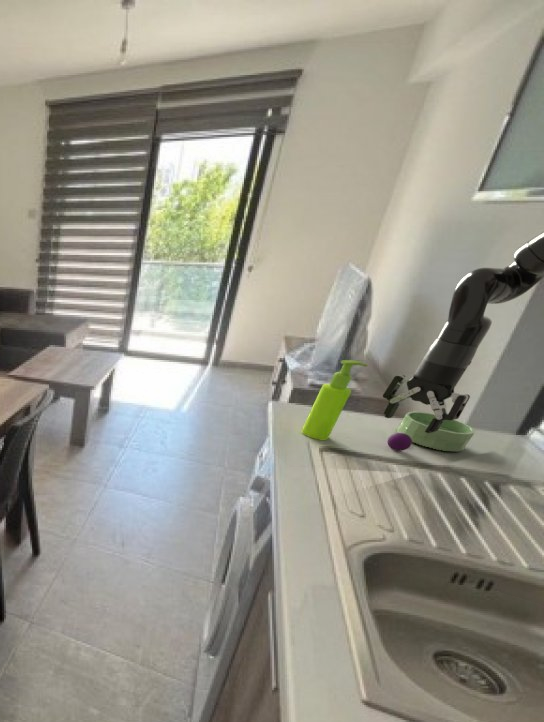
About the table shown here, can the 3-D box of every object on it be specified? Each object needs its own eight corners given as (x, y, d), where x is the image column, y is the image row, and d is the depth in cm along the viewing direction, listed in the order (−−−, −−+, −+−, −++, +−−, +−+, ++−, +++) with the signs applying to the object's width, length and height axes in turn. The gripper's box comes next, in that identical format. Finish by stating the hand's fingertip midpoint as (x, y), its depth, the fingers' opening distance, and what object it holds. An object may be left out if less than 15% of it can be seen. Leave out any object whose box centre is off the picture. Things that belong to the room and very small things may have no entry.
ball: (410, 452, 119) (419, 436, 117) (400, 454, 117) (409, 439, 115) (390, 444, 122) (399, 428, 120) (380, 446, 121) (388, 431, 119)
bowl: (472, 449, 122) (485, 430, 120) (445, 456, 118) (458, 437, 115) (412, 427, 133) (423, 409, 130) (385, 433, 128) (395, 414, 126)
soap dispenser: (337, 440, 123) (375, 366, 113) (310, 439, 122) (346, 364, 113) (321, 430, 128) (356, 358, 118) (296, 429, 128) (329, 356, 118)
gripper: (400, 352, 113) (366, 414, 121) (477, 373, 102) (434, 440, 110) (418, 350, 116) (384, 411, 124) (494, 370, 104) (451, 435, 112)
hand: (407, 424), depth 117 cm, fingers open, 8 cm apart
